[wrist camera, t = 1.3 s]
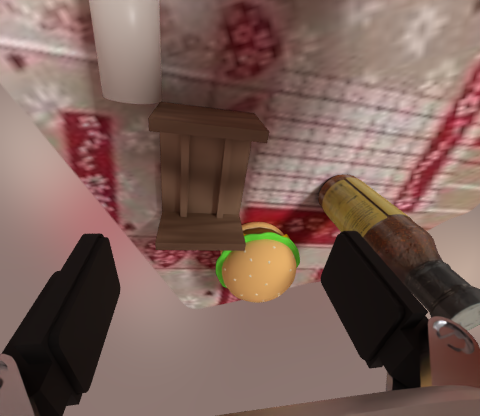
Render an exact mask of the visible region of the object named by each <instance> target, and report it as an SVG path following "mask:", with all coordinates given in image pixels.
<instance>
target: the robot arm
mask: <svg viewBox="0 0 480 416" xmlns="http://www.w3.org/2000/svg"><path fill="white" fill-rule="evenodd" d="M321 283H322V285H323V287H324V289H325V291H326V293H327V295H328V297H329V299H330V300H331V302H332V304H333V306H334V308H335V310H336V312H337V314H338V316H339V318H340V320H341V321H342V323H343V325H344V327H345V329H346V331H347V332H348V334H349V336H350V338H351V340H352V342H353V344H354V346H355V348H356V350H357V352H358V354H359V355H360V357H361V358H362V359H363V360H365V361H366V363H367V365H368V367H369V368H377V367H382V366H383V365H384V367H385V368H386V370H387V381H386V392H379V393H372V394H364V395H357V396H350V397H343V398H335V399H328V400H321V401H315V402H307V403H300V404H293V405H286V406H279V407H272V408H265V409H258V410H252V411H244V412H237V413H230V414H224V415H218V416H480V347H479V345H478V343H477V342H476V340H475V339H474V337H473V336H472V335H471V334H470V333H469V332H468V331H467V330H466V329H465V328H463V327H462V326H460V325H459V324H458V323H456V322H454V321H452V320H450V319H447V318H444V317H439V316H435V317H431V318H430V319H429V320H428V319H427V317H426V316H425V315H426V314H427V313H428V311H427V310H426V309H425V308H424V307H423V305H422V304H421V303H420V302H419V301H418V300H417V299H416V297H415V296H414V295H413V294H412V293H411V292H410V291H409V289H408V288H407V287H406V286H405V285H404V284H403V283H402V281H401V280H400V279H399V278H398V277H397V276H396V275H395V273H394V272H393V271H392V270H391V269H390V268H389V267H388V265H387V264H386V263H385V262H384V261H383V260H382V259H381V257H380V256H379V255H378V254H377V253H376V252H375V251H374V249H373V248H372V247H371V246H370V245H369V244H368V243H367V241H366V240H365V239H364V238H363V237H362V236H361V235H360V233H359V232H357V231H342V232H341V233H340V234H339V235H337V237H336V240H335V242H334V245H333V247H332V250H331V252H330V255H329V257H328V260H327V262H326V265H325V267H324V270H323V272H322V275H321ZM119 294H120V283H119V279H118V275H117V271H116V267H115V262H114V258H113V254H112V250H111V246H110V242H109V239H108V238H107V237H104V236H103V235H102V234H83V235H82V237H81V238H80V240H79V241H78V243H77V245H76V246H75V248H74V250H73V251H72V253H71V255H70V256H69V258H68V259H67V261H66V263H65V264H64V266H63V268H62V269H61V271H57V272H55V273H54V274H53V275H52V276H51V277H50V279H49V281H48V282H47V284H46V285H45V287H44V288H43V290H42V292H41V293H40V295H39V296H38V298H37V299H36V301H35V303H34V304H33V306H32V307H31V309H30V310H29V312H28V313H27V315H26V317H25V318H24V319H23V321H22V323H21V324H20V326H19V327H18V329H17V330H16V332H15V334H14V335H13V337H12V338H11V340H10V341H9V343H8V344H7V346H6V347H5V349H4V351H3V352H2V354H0V416H63V413H64V410H65V408H66V406H69V405H76V404H79V402H80V399H81V396H82V393H86V392H87V391H88V390H89V388H90V385H91V382H92V379H93V376H94V373H95V370H96V367H97V364H98V361H99V357H100V354H101V351H102V348H103V345H104V342H105V339H106V335H107V332H108V329H109V326H110V323H111V320H112V317H113V313H114V310H115V307H116V304H117V301H118V298H119Z"/></svg>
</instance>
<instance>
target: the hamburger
mask: <svg viewBox="0 0 480 416" xmlns="http://www.w3.org/2000/svg"><path fill="white" fill-rule="evenodd" d="M242 230H243V234H244V238H245V242H246V247H245V251H221V256H220V257H219V258H218V259H217V262H216V275H217V277H218V279H219V281H220V283H221V284H222V286H223V287H225V288H228V289H229V290H230V292H231V293H232V294H233V295H234V296H236V297H237V298H239V299H242V300H245V301H250V302H266V301H269V300H272V299H274V298H277V297H278V296H280V295H281V294H282V293H284V292H285V291H286V290H287V289H288V288H289V287H290V285H291V284H292V282H293V281H294V278H295V273H296V268H297V267H298V265H299V263H300V257H299V251H298V249H297V247H296V246H295V244H294V243H293V242H292V241H291V240H290V238H289V236H288V235H287V234H285V235H284V234H283V233H282V232H281V231H280V230H279V229H278V228H277V227H275V226H273V225H271V224H268V223H265V222H250V223H246V224H243V225H242Z"/></svg>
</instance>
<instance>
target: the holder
mask: <svg viewBox="0 0 480 416" xmlns="http://www.w3.org/2000/svg"><path fill="white" fill-rule="evenodd" d="M148 120H149V131H153V132H160V155H161V186H162V215H161V220H160V224H159V229H158V233H157V238H156V242H155V245H156V250H218V251H245V247H246V242H245V238H244V234H243V230H242V225H241V221H240V217H239V212H240V206H241V200H242V194H243V188H244V183H245V177H246V171H247V165H248V159H249V153H250V148H251V142H252V141H253V142H262V143H267V140H268V136H269V131H268V130H267V128H266V127H265V126H264V125H263V123H262V122H261V121H260V120H259V119H258V117H257V116H256V115H255V114H254V113H247V112H239V111H231V110H223V109H215V108H206V107H198V106H190V105H182V104H174V103H166V102H160V103H159V104H158V106H157V107H156V108H155V110H154V111H153V113H152V114H151V115H150V117H149V118H148Z"/></svg>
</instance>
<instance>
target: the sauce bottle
mask: <svg viewBox="0 0 480 416" xmlns="http://www.w3.org/2000/svg"><path fill="white" fill-rule="evenodd" d="M319 204H320V205H321V206H322V208H323V210H324V212H325V213H326V215H327V216H328V217H329V218H330V219H331V220H332V222H333V223H334V224H335V225H336V226H337V228H338V229H339V230H340V231H341V232H342V231H357V232H359V233H360V235H361V236H362V237H363V238H364V239H365V240H366V241H367V243H368V244H369V245H370V246H371V247H372V248H373V249H374V251H375V252H376V253H377V254H378V255H379V256H380V257H381V259H382V260H383V261H384V262H385V263H386V264H387V265H388V267H389V268H390V269H391V270H392V271H393V272H394V273H395V275H396V276H397V277H398V278H399V279H400V280H401V281H402V283H403V284H404V285H405V286H406V287H407V288H408V289H409V291H410V292H411V293H412V294H413V295H414V296H415V297H416V298H417V299H418V300H419V301H420V302H421V303H422V304H423V305H424V306H425V308H426V309H427V310H428V311H429V312H430V315H431V317H435V316H439V317H444V318H447V319H450V320H452V321H454V322H456V323H458V324H459V325H460V326H462V327H463V328H465V329H466V330H467V331H468V330H470V329H472V328H474V327H476V326H478V325H480V289H478V288H475V287H473V286H471V285H470V284H469V283H467V282H466V281H465V280H464V279H463V278H461V277H460V276H459V275H458V274H457V273H456V272H454V271H453V270H452V269H451V268H450V266H449V265H448V264H446V263H444V262H443V261H442V259H441V258H440V255H439V254H438V251H437V249H436V245H435V243H434V239H433V238H432V236H431V235H430V234H429V233H428V232H427V231H425V230H424V229H423V228H421V227H420V226H418V225H417V224H416V223H415V222H413V221H412V219H411V218H410V217H409V216H407V215H406V214H405V213H403V212H402V211H400V210H399V209H398V208H397V207H395V206H394V205H392V204H391V203H390V202H388V201H387V200H386V199H385V198H383V197H382V196H381V195H379V194H378V193H377V192H375V191H374V190H373V189H371V188H370V187H369V186H367V185H366V184H365V183H363V182H362V181H361V180H359V179H357V178H356V177H354V176H351V175H337V176H335V177H333V178H331V179H329V180H328V181H327V182H326V183H325V184H324V185H323V186H322V188H321V190H320V192H319Z"/></svg>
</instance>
